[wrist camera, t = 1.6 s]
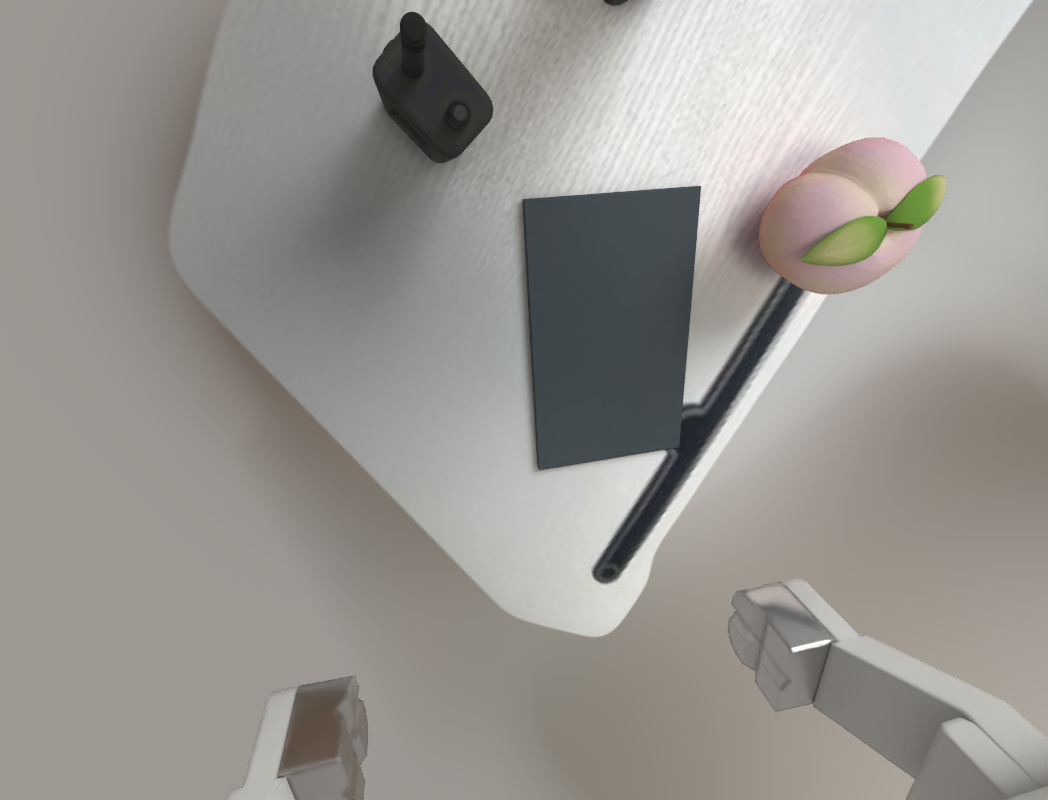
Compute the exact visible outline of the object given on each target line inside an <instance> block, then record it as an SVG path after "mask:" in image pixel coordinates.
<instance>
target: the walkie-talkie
mask: <svg viewBox="0 0 1048 800" xmlns="http://www.w3.org/2000/svg"><path fill="white" fill-rule="evenodd" d="M373 78H374V81H375V84H376V87H377V89H378V92H379V94H380V97H381V99H382V102H383V105H384V107H385V110H386V111H387V113H388V114H389V115H390V116H391V118H392V119H393V120H394V121H395V122H396V123H397V124H398V125H399V126H400V127H401V128H402V129H403V130H404V131H405V132H406V133H407V134H408V136H409V137H410V138H411V139H412V140H413V141H414V142H415V143H416V144H417V145H418V146H419V147H420V148H421V149H422V150H423V151H424V152H425V154H426V155H427V156H428V157H429V158H430V159H432V160H433V161H434V162H437V163H444V162H447V161H449V160H451V159H453V158H456V157H457V156H459V155H460V154H461V153H462V152H463V151H464V150H465V149H466V148H467V147H468V145H469V144H470V143H471V142H472V141H473V140H474V139H475V138H476V136H477V135H478V134H479V133H480V132H481V131H482V130H483V129H484V128H485V126H486V125H487V124H488V123H489V122H490V120H491V118H492V115H493V106H492V101H491V99H490V98H489V96H488V94H487V93H486V92H485V91H484V89H483V88H482V87H481V86H480V84H479V83H478V82H477V81H476V80H475V78H474V77H473V76H472V75H471V74H470V72H469V71H468V70H467V69H466V68H465V66H464V65H463V64H462V63H461V62H460V60H459V59H458V58H457V57H456V55H455V54H454V53H453V52H452V51H451V49H450V48H449V47H448V46H447V45H446V43H445V42H444V41H443V40H442V39H441V37H440V36H439V35H438V34H437V32H436V31H435V30H434V29H433V28H432V27H431V26H430V25H429V24H428V23H426V22H425V20H424V19H423V17H422V16H421V15H419V14H418V13H416V12H408V13H406V14H405V15H404V16H403V17H402V19H401V22H400V32H399V33H398V35H397V36H396V37H395V38H394V39H393V40H391V41H390V42H389V43H388V44H387V45H386V47H385V48H384V50H383V53H382V54H381V55H380V56H379V58H378V59H377V60H376V62H375V64H374V66H373Z"/></svg>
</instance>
